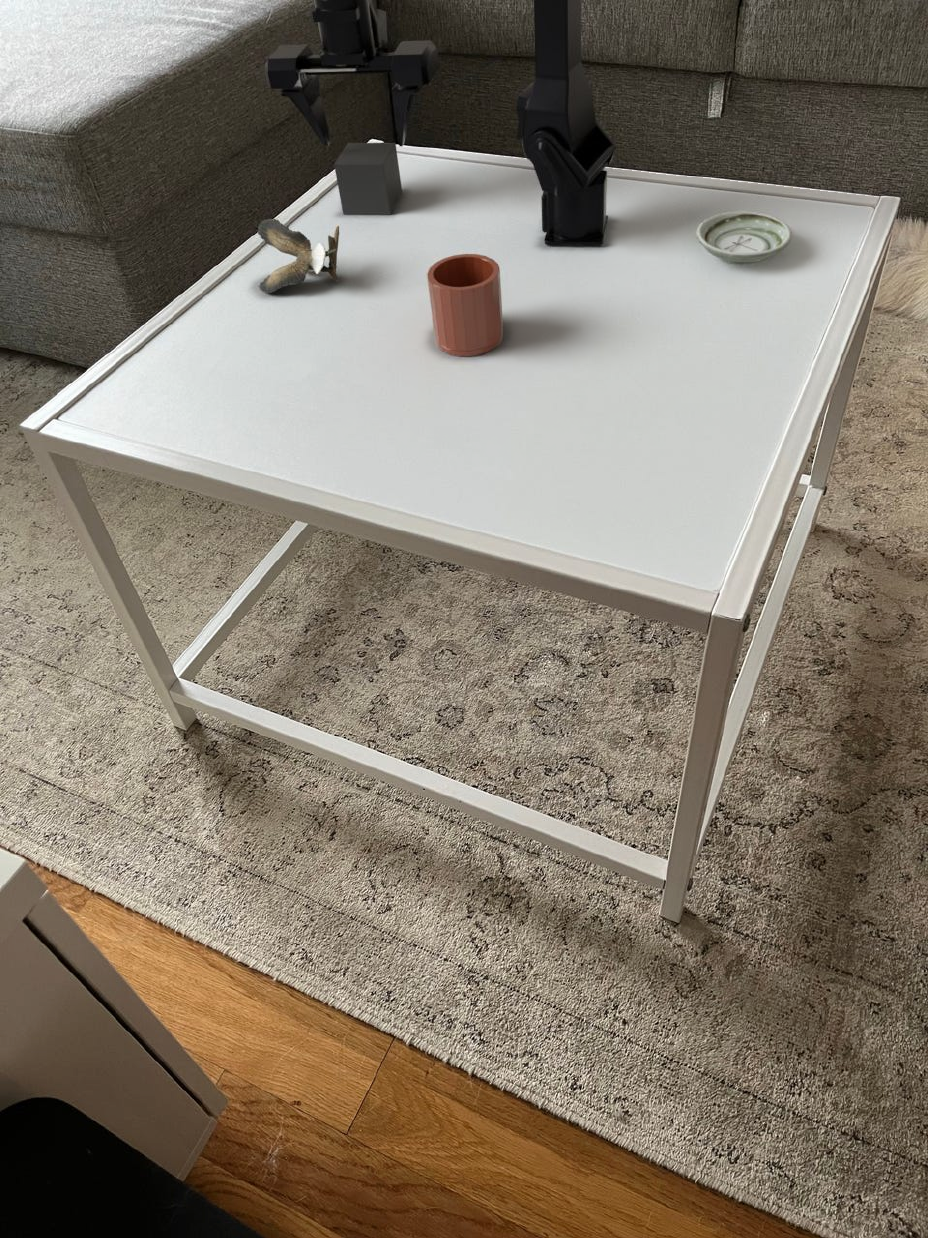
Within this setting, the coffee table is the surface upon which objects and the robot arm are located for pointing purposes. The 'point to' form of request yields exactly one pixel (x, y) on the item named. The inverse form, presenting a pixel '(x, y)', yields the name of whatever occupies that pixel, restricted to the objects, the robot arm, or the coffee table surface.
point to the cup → (466, 304)
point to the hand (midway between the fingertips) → (364, 145)
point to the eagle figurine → (301, 249)
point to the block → (368, 178)
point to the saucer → (743, 236)
